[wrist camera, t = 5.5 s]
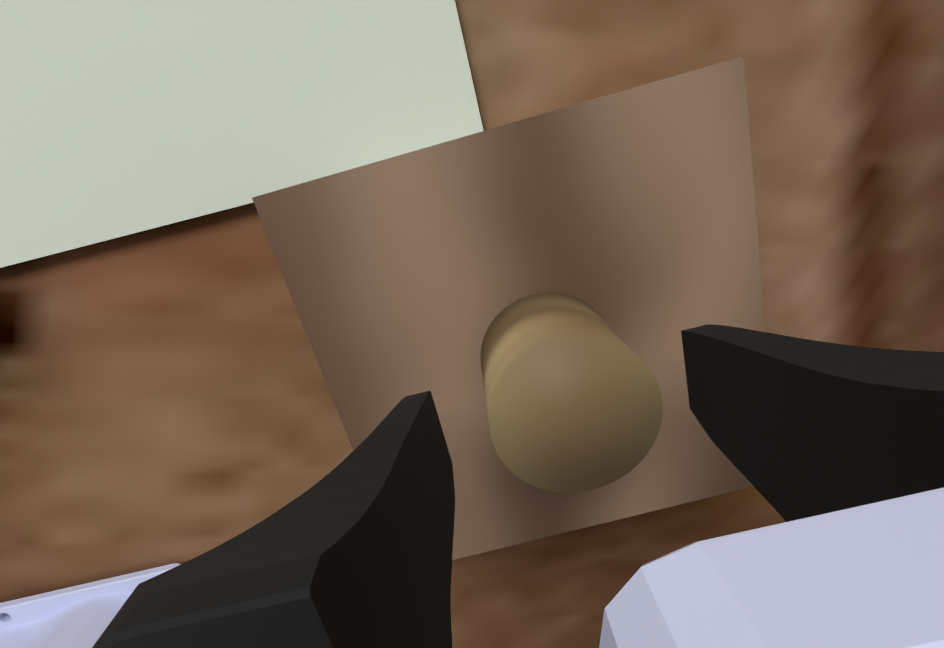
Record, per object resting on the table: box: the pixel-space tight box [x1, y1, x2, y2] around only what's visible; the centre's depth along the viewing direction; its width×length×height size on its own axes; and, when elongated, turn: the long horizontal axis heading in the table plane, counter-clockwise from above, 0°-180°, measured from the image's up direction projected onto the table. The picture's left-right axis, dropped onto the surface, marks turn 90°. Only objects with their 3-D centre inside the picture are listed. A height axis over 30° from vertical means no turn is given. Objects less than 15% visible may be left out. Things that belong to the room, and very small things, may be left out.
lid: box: [252, 56, 766, 560], centre depth 12 cm, size 12×12×4 cm
